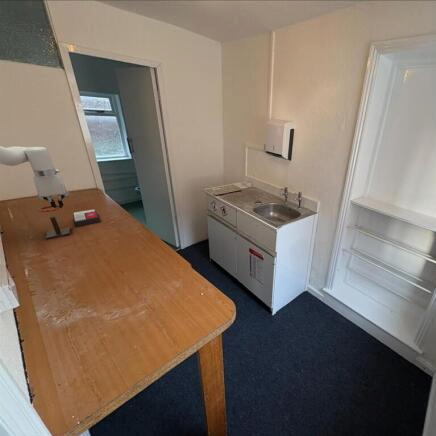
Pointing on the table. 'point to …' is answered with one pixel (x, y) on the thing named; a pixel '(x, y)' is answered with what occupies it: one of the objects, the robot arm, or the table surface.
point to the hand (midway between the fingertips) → (58, 207)
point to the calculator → (85, 217)
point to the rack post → (57, 230)
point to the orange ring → (49, 209)
